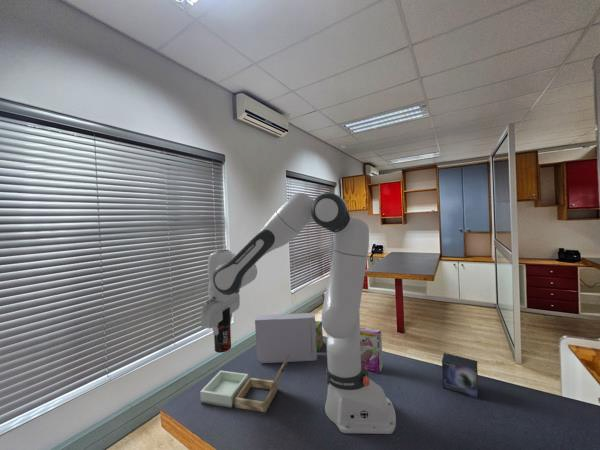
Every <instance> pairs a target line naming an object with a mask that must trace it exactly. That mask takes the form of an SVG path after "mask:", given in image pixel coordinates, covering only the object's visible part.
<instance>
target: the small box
mask: <svg viewBox="0 0 600 450" xmlns="http://www.w3.org/2000/svg"><path fill="white" fill-rule="evenodd" d="M441 368H442V370H441V371H442V373H441V374H442V388H443V389H446V390H448V391H451V392H455V393H458V394H461V395H463V396H466V397H469V398H473V399H475V400H478V398H479V382H478V381H479V380H478V379H479V378H478V360H475V359H470V358H467V357H462V356H460V355H459V356H458V355H454V354H451V353H447V352H443V355H442V359H441Z"/></svg>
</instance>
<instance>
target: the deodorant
mask: <svg viewBox="0 0 600 450" xmlns="http://www.w3.org/2000/svg"><path fill="white" fill-rule="evenodd" d="M222 314H223V320H222V321H220V322H219V323H218V326H217V327H218V329H220V333H219V334H218V335H214V334H213V338H214V339H213V341H214V342H213V343H214V351H215V352H216V353H226V352H228V351H230V350H231V348H232V337H231V336H232V335H231V334H232V333H231V331H232V330H231V325H230V307H229V308H227V309H226V310H224V311H223V312H222Z"/></svg>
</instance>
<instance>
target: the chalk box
mask: <svg viewBox="0 0 600 450" xmlns="http://www.w3.org/2000/svg"><path fill="white" fill-rule="evenodd" d="M315 330H316V351H317V353H318V352H320V351H321V349H322V348H323V347H322V346H323V344H324V338H323V337H324V336H323V333H324V332H323V326H322V320H321V321H318V320H315Z"/></svg>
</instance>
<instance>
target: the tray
mask: <svg viewBox="0 0 600 450" xmlns="http://www.w3.org/2000/svg"><path fill="white" fill-rule="evenodd" d="M248 379H249V373H243V372H242V373H241V372H235V371H226V370H221V369H219V371H218V372H217V373H216V374H215V376H214V377H213V378H211V379H210V380H209V382H208V383H207V384H206V385H205V386H204V387H203V388H202V389H201V390H200V391H199V395H200V403H202V404H206V405H207V404H208V405H212V406H213V405H214V406H218V407H225V408H229V409H230V408H231V409H232V408H233V407H234V406H235V402H234V398H235V397H236V396H237V394H238V393H239V392H240V390H241V389H242V388H243V386H244V385H245V384H246V382H247V381H248Z"/></svg>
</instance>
